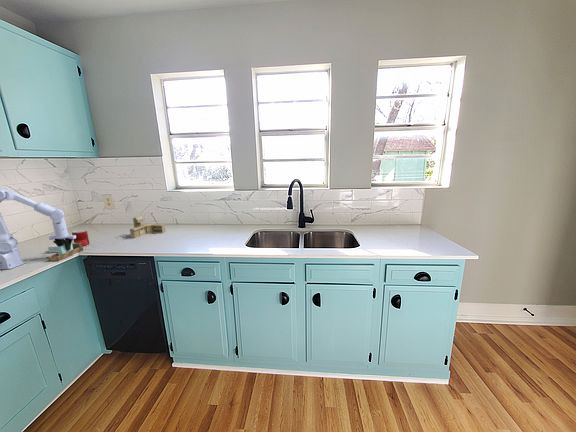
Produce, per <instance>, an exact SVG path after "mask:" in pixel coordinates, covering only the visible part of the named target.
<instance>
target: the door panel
mask: <svg viewBox="0 0 576 432" xmlns="http://www.w3.org/2000/svg"><path fill="white" fill-rule="evenodd" d="M72 243H73V242H72ZM72 243H71V249H70V250H68V251H67V250H66V247H65V245H61V246H59V247H57V250H58V252H57V253H58V254H59V255H62V254H64V253H66V252H69V251H71V250H73V246H72Z"/></svg>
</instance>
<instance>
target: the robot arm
mask: <svg viewBox="0 0 576 432" xmlns="http://www.w3.org/2000/svg"><path fill="white" fill-rule="evenodd" d="M3 201H16V202H19V203H21V204H24V205H25V206H29V207H31V208H33V210H34V211H35V212H38V213H39V214H42V215H44V216H47V217H49V218H50V219H51V221H52V226H53V230H54V235H51V236H48V240H49V241H51V240H53V241H52V242H53V243H54V244H56V245H57V246H58V247H59V246H61V245H65V247H66V250H67V251H68V250H70V249H71V243H73V241H74V240H73V239H75V238H76V235H72V234H69V232H68V227H67V223H66V219H65V217H64V216H65V213H64V210H62V209H60V208H57V207H53V206H51V205H49V204H48V203H47V202H41V201H40V202H37V201H35V200H33V199H30V198H29V197H26V196H25V195H22V194H20V193H18V192H16V191H14V190H11V189H8V188H6V187H0V204H1V202H3ZM18 243H19V242H18V240H17V239H16V238H14V236H13V235H12V234H11V233H10V230H9V229H8V227H7V225H6V222H5V220H4V218H3V216H2V213H1V212H0V270H11V269H14V268H17V267H19V266H22V265H24V264H26V263H28V261H23V259H22V256H21V253H20V249H19V247H17V246H18Z"/></svg>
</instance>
